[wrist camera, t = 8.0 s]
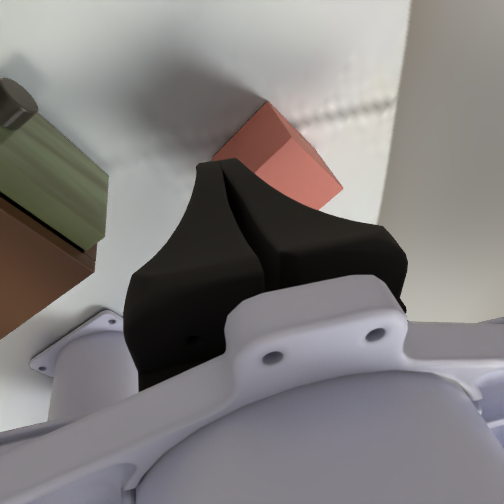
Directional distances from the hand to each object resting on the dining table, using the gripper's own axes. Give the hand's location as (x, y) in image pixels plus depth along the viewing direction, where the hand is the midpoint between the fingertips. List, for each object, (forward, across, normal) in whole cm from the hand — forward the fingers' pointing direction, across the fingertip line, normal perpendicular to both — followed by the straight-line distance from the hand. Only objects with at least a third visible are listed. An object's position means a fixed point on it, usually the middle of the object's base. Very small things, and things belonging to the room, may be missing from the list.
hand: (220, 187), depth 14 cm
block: (+9, -4, +4) cm, 11 cm away
